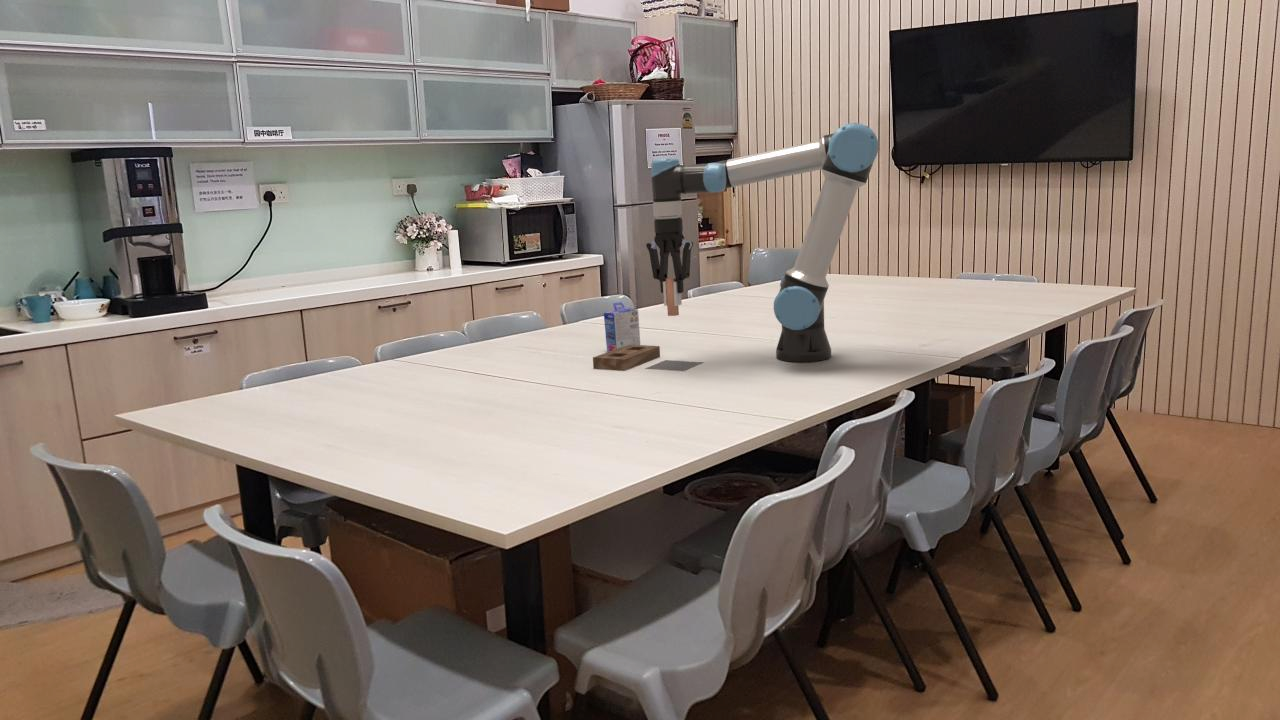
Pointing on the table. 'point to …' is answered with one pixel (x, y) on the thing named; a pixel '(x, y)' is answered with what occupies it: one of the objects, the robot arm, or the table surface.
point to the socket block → (626, 357)
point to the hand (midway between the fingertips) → (672, 304)
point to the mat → (674, 365)
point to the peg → (671, 298)
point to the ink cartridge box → (621, 327)
